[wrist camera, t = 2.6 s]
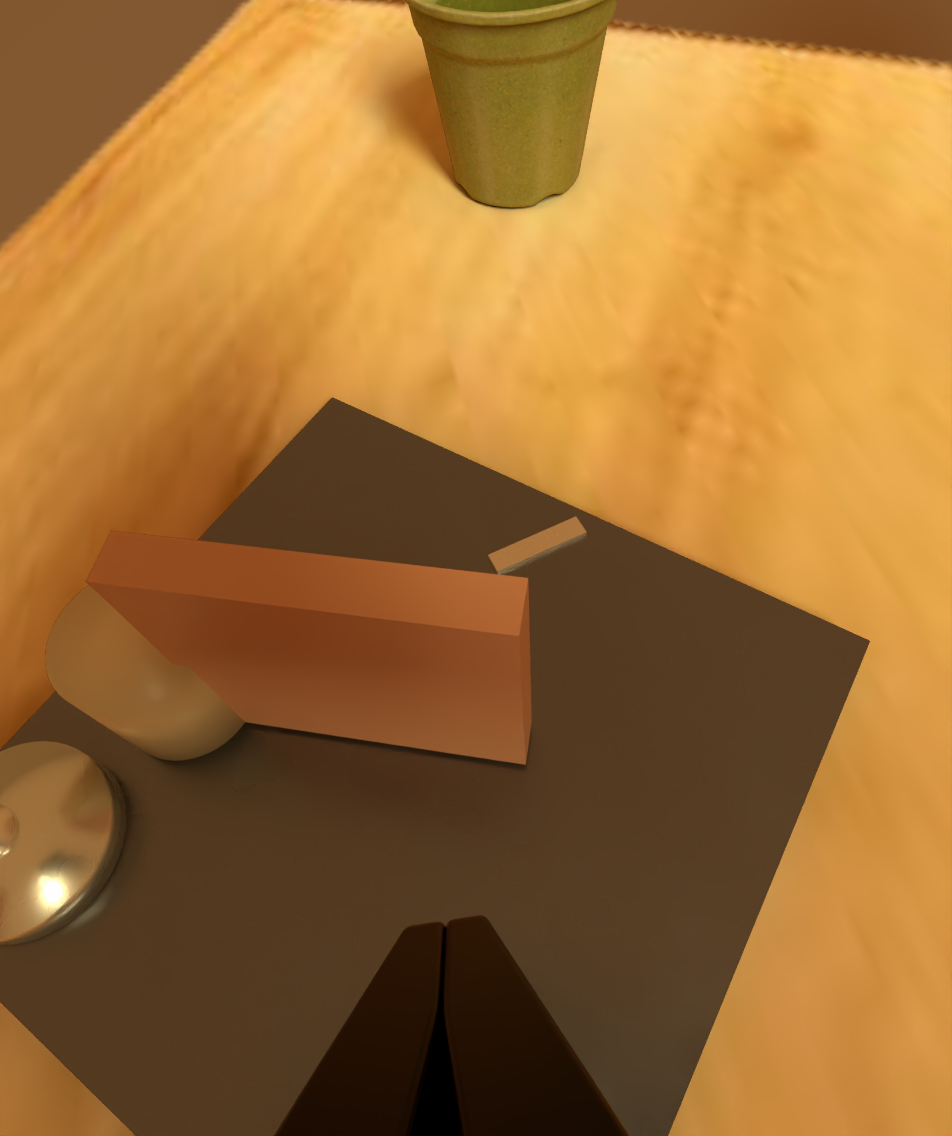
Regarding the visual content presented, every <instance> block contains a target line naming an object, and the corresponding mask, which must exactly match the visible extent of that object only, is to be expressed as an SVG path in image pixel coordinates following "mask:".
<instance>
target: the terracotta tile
mask: <svg viewBox="0 0 952 1136" xmlns="http://www.w3.org/2000/svg"><path fill="white" fill-rule="evenodd" d="M86 582H87V583H88V584H89V585H88V586H87V587H85V588H84V589H83V590H82V591H80V592H79V593H78V594H77V595H76V596H75V597H74V598H73V599H72V600H71V601H70V602H69V603H68V604H67V605H66V607H65V608H64V609H63V611H62V612H61V613H60V615H59V616H58V618H57V620H56V621H55V623H54V625H53V627H52V630H51V632H50V634H49V638H48V641H47V645H46V651H45V665H46V672H47V675H48V678H49V680H50V682H51V684H52V686H53V688H54V689H55V690H56V692H57V693H58V694H59V695H60V696H61V697H62V698H64V699H65V700H66V701H68V702H69V703H71V704H72V705H74V706H75V707H77V708H78V709H80V710H81V711H83V712H84V713H86V714H87V715H89V716H90V717H92V718H93V719H95V720H97V721H98V722H100V723H101V724H103V725H104V726H106V727H107V728H109V729H110V730H112V731H113V732H115V733H116V734H118V735H119V736H121V737H122V738H124V739H125V740H127V741H129V742H130V743H132V744H133V745H135V746H136V747H138V748H139V749H141V750H142V751H144V752H145V753H147V754H149V755H151V756H153V757H156V758H159V759H163V760H171V761H181V760H188V759H193V758H197V757H200V756H203V755H205V754H208V753H210V752H212V751H214V750H215V749H217V748H219V747H220V746H222V745H223V744H224V743H226V742H227V741H228V740H229V739H231V738H232V737H233V736H234V735H235V734H236V733H237V732H238V731H239V729H240V728H241V727H242V726H243V724H244V723H245V722H248V723H255V724H261V725H268V726H274V727H281V728H287V729H294V730H301V731H307V732H314V733H320V734H327V735H333V736H340V737H347V738H353V739H360V740H366V741H373V742H379V743H386V744H393V745H399V746H406V747H412V748H419V749H425V750H432V751H439V752H445V753H452V754H458V755H465V756H472V757H478V758H485V759H491V760H498V761H504V762H511V763H518V764H524V765H526V759H527V752H528V745H529V737H530V730H531V723H532V716H531V674H530V631H529V588H528V578H524V577H515V576H506V575H498V574H489V573H480V572H471V571H463V570H454V569H445V568H436V567H427V566H419V565H410V564H401V563H392V562H383V561H375V560H366V559H357V558H348V557H340V556H331V555H322V554H313V553H304V552H296V551H287V550H278V549H269V548H260V547H252V546H243V545H234V544H225V543H216V542H208V541H199V540H190V539H181V538H173V537H164V536H155V535H146V534H137V533H129V532H120V531H111V532H110V534H109V536H108V538H107V540H106V542H105V544H104V546H103V548H102V550H101V552H100V554H99V556H98V558H97V560H96V562H95V564H94V566H93V568H92V570H91V572H90V574H89V576H88V578H87V580H86Z"/></svg>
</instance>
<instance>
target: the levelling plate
mask: <svg viewBox="0 0 952 1136" xmlns="http://www.w3.org/2000/svg"><path fill="white" fill-rule="evenodd" d="M198 540H199V541H208V542H216V543H225V544H234V545H243V546H252V547H260V548H269V549H278V550H287V551H296V552H304V553H313V554H322V555H331V556H340V557H348V558H357V559H366V560H375V561H383V562H392V563H401V564H410V565H419V566H427V567H436V568H445V569H454V570H463V571H471V572H480V573H489V574H498V575H506V576H515V577H524V578H528V588H529V631H530V674H531V716H532V723H531V730H530V737H529V745H528V752H527V759H526V765H524V764H518V763H511V762H504V761H498V760H491V759H485V758H478V757H472V756H465V755H458V754H452V753H445V752H439V751H432V750H425V749H419V748H412V747H406V746H399V745H393V744H386V743H379V742H373V741H366V740H360V739H353V738H347V737H340V736H333V735H327V734H320V733H314V732H307V731H301V730H294V729H287V728H281V727H274V726H268V725H261V724H255V723H248V722H245V723H244V724H243V726H242V727H241V728H240V729H239V731H238V732H237V733H236V734H235V735H234V736H233V737H232V738H231V739H229V740H228V741H227V742H226V743H224V744H223V745H222V746H220V747H219V748H217V749H215V750H214V751H212V752H210V753H208V754H205V755H203V756H200V757H197V758H193V759H188V760H181V761H171V760H163V759H159V758H156V757H153V756H151V755H149V754H147V753H145V752H144V751H142V750H141V749H139V748H138V747H136V746H135V745H133V744H132V743H130V742H129V741H127V740H125V739H124V738H122V737H121V736H119V735H118V734H116V733H115V732H113V731H112V730H110V729H109V728H107V727H106V726H104V725H103V724H101V723H100V722H98V721H97V720H95V719H93V718H92V717H90V716H89V715H87V714H86V713H84V712H83V711H81V710H80V709H78V708H77V707H75V706H74V705H72V704H71V703H69V702H68V701H66V700H65V699H64V698H62V697H61V696H60V695H59V694H58V693H57V692H56V691H55V692H54V693H53V694H52V695H51V697H50V698H49V699H48V700H47V701H46V702H45V703H44V704H43V705H42V706H41V707H40V708H39V709H38V710H37V711H36V712H35V714H34V715H33V716H32V717H31V718H30V719H29V720H28V721H27V722H26V723H25V724H24V725H23V726H22V727H21V728H20V729H19V731H18V732H17V733H16V734H15V735H14V736H13V737H12V738H11V739H10V740H9V741H8V742H7V743H6V744H5V745H4V746H3V748H2V749H1V750H0V1002H1V1003H2V1004H3V1005H4V1006H5V1007H6V1008H7V1009H8V1010H9V1011H10V1012H11V1013H12V1014H13V1015H14V1016H15V1017H16V1018H17V1019H18V1020H19V1021H20V1022H21V1023H22V1024H23V1025H24V1026H25V1027H26V1028H27V1029H28V1030H29V1031H30V1032H31V1033H32V1034H33V1035H34V1036H35V1037H36V1038H37V1039H38V1040H39V1041H40V1042H41V1043H42V1044H43V1045H44V1046H45V1047H46V1048H48V1049H49V1050H50V1051H51V1052H52V1053H53V1054H54V1055H55V1056H56V1057H57V1058H58V1059H59V1060H60V1061H61V1062H62V1063H63V1064H64V1065H65V1066H66V1067H67V1068H68V1069H69V1070H70V1071H71V1072H72V1073H73V1074H74V1075H75V1076H76V1077H77V1078H78V1079H79V1080H80V1081H81V1082H82V1083H83V1084H84V1085H85V1086H86V1087H87V1088H88V1089H89V1090H90V1091H91V1092H92V1093H93V1094H94V1095H95V1096H96V1097H97V1098H98V1099H99V1100H100V1101H101V1102H102V1103H103V1104H104V1105H105V1106H106V1107H107V1108H108V1109H109V1110H110V1111H111V1112H112V1113H113V1114H114V1115H115V1116H116V1117H117V1118H118V1119H120V1120H121V1121H122V1122H123V1123H124V1124H125V1125H126V1126H127V1127H128V1128H129V1129H130V1130H131V1131H132V1132H133V1133H134V1134H135V1135H136V1136H274V1134H275V1132H276V1131H277V1129H278V1128H279V1126H280V1125H281V1123H282V1121H283V1120H284V1118H285V1117H286V1115H287V1113H288V1112H289V1110H290V1109H291V1107H292V1106H293V1104H294V1102H295V1101H296V1099H297V1098H298V1096H299V1094H300V1093H301V1091H302V1090H303V1088H304V1087H305V1085H306V1083H307V1082H308V1080H309V1079H310V1077H311V1075H312V1074H313V1072H314V1071H315V1069H316V1068H317V1066H318V1064H319V1063H320V1061H321V1060H322V1058H323V1056H324V1055H325V1053H326V1052H327V1050H328V1049H329V1047H330V1045H331V1044H332V1042H333V1041H334V1039H335V1037H336V1036H337V1034H338V1033H339V1031H340V1030H341V1028H342V1026H343V1025H344V1023H345V1022H346V1020H347V1018H348V1017H349V1015H350V1014H351V1012H352V1011H353V1009H354V1007H355V1006H356V1004H357V1003H358V1001H359V999H360V998H361V996H362V995H363V993H364V992H365V990H366V988H367V987H368V985H369V984H370V982H371V980H372V979H373V977H374V976H375V974H376V973H377V971H378V969H379V968H380V966H381V965H382V963H383V961H384V960H385V958H386V957H387V955H388V954H389V952H390V950H391V949H392V947H393V946H394V944H395V942H396V941H397V939H398V938H399V936H400V935H401V933H402V932H403V930H404V929H405V928H407V927H408V926H411V925H418V924H424V923H431V922H437V921H440V922H442V923H444V925H445V926H446V925H447V923H448V922H449V921H450V920H452V919H457V918H463V917H470V916H476V915H483V916H485V917H486V918H487V919H488V920H489V921H490V923H491V924H492V926H493V927H494V929H495V931H496V932H497V934H498V935H499V937H500V938H501V940H502V941H503V943H504V944H505V946H506V947H507V949H508V950H509V952H510V953H511V955H512V956H513V958H514V960H515V961H516V963H517V964H518V966H519V967H520V969H521V970H522V972H523V973H524V975H525V976H526V978H527V979H528V981H529V982H530V984H531V985H532V987H533V989H534V990H535V992H536V993H537V995H538V996H539V998H540V999H541V1001H542V1002H543V1004H544V1005H545V1007H546V1008H547V1010H548V1011H549V1013H550V1014H551V1016H552V1018H553V1019H554V1021H555V1022H556V1024H557V1025H558V1027H559V1028H560V1030H561V1031H562V1033H563V1034H564V1036H565V1037H566V1039H567V1040H568V1042H569V1043H570V1045H571V1047H572V1048H573V1050H574V1051H575V1053H576V1054H577V1056H578V1057H579V1059H580V1060H581V1062H582V1063H583V1065H584V1066H585V1068H586V1069H587V1071H588V1072H589V1074H590V1076H591V1077H592V1079H593V1080H594V1082H595V1083H596V1085H597V1086H598V1088H599V1089H600V1091H601V1092H602V1094H603V1095H604V1097H605V1098H606V1100H607V1101H608V1103H609V1105H610V1106H611V1108H612V1109H613V1111H614V1112H615V1114H616V1115H617V1117H618V1118H619V1120H620V1121H621V1123H622V1124H623V1126H624V1127H625V1129H626V1130H627V1132H628V1134H629V1135H630V1136H668V1134H669V1132H670V1129H671V1127H672V1124H673V1122H674V1120H675V1117H676V1115H677V1112H678V1110H679V1107H680V1105H681V1102H682V1100H683V1098H684V1095H685V1093H686V1090H687V1088H688V1085H689V1083H690V1080H691V1078H692V1076H693V1073H694V1071H695V1068H696V1066H697V1063H698V1061H699V1058H700V1056H701V1054H702V1051H703V1049H704V1046H705V1044H706V1041H707V1039H708V1036H709V1034H710V1031H711V1029H712V1027H713V1024H714V1022H715V1019H716V1017H717V1014H718V1012H719V1009H720V1007H721V1005H722V1002H723V1000H724V997H725V995H726V992H727V990H728V987H729V985H730V983H731V980H732V978H733V975H734V973H735V970H736V968H737V965H738V963H739V961H740V958H741V956H742V953H743V951H744V948H745V946H746V943H747V941H748V939H749V936H750V934H751V931H752V929H753V926H754V924H755V921H756V919H757V916H758V914H759V912H760V909H761V907H762V904H763V902H764V899H765V897H766V894H767V892H768V890H769V887H770V885H771V882H772V880H773V877H774V875H775V872H776V870H777V868H778V865H779V863H780V860H781V858H782V855H783V853H784V850H785V848H786V846H787V843H788V841H789V838H790V836H791V833H792V831H793V828H794V826H795V824H796V821H797V819H798V816H799V814H800V811H801V809H802V806H803V804H804V802H805V799H806V797H807V794H808V792H809V789H810V787H811V784H812V782H813V779H814V777H815V775H816V772H817V770H818V767H819V765H820V762H821V760H822V757H823V755H824V753H825V750H826V748H827V745H828V743H829V740H830V738H831V735H832V733H833V731H834V728H835V726H836V723H837V721H838V718H839V716H840V713H841V711H842V709H843V706H844V704H845V701H846V699H847V696H848V694H849V691H850V689H851V687H852V684H853V682H854V679H855V677H856V674H857V672H858V669H859V667H860V664H861V662H862V660H863V657H864V655H865V652H866V650H867V647H868V645H869V642H870V641H869V640H867V639H865V638H862V637H860V636H858V635H856V634H854V633H851V632H849V631H847V630H845V629H843V628H840V627H838V626H836V625H834V624H832V623H829V622H827V621H825V620H823V619H821V618H818V617H816V616H814V615H812V614H809V613H807V612H805V611H803V610H801V609H798V608H796V607H794V606H792V605H790V604H787V603H785V602H783V601H781V600H779V599H776V598H774V597H772V596H770V595H768V594H765V593H763V592H761V591H759V590H756V589H754V588H752V587H750V586H748V585H745V584H743V583H741V582H739V581H737V580H734V579H732V578H730V577H728V576H726V575H723V574H721V573H719V572H717V571H715V570H712V569H710V568H708V567H706V566H703V565H701V564H699V563H697V562H695V561H692V560H690V559H688V558H686V557H684V556H681V555H679V554H677V553H675V552H673V551H670V550H668V549H666V548H664V547H662V546H659V545H657V544H655V543H653V542H650V541H648V540H646V539H644V538H642V537H639V536H637V535H635V534H633V533H631V532H628V531H626V530H624V529H622V528H620V527H617V526H615V525H613V524H611V523H609V522H606V521H604V520H602V519H600V518H597V517H595V516H593V515H591V514H589V513H586V512H584V511H582V510H580V509H578V508H575V507H573V506H571V505H569V504H567V503H564V502H562V501H560V500H558V499H556V498H553V497H551V496H549V495H547V494H544V493H542V492H540V491H538V490H536V489H533V488H531V487H529V486H527V485H525V484H522V483H520V482H518V481H516V480H514V479H511V478H509V477H507V476H505V475H503V474H500V473H498V472H496V471H494V470H491V469H489V468H487V467H485V466H483V465H480V464H478V463H476V462H474V461H472V460H469V459H467V458H465V457H463V456H461V455H458V454H456V453H454V452H452V451H450V450H447V449H445V448H443V447H441V446H438V445H436V444H434V443H432V442H430V441H427V440H425V439H423V438H421V437H419V436H416V435H414V434H412V433H410V432H408V431H405V430H403V429H401V428H399V427H397V426H394V425H392V424H390V423H388V422H385V421H383V420H381V419H379V418H377V417H374V416H372V415H370V414H368V413H366V412H363V411H361V410H359V409H357V408H355V407H352V406H350V405H348V404H346V403H344V402H341V401H339V400H337V399H335V398H331V399H330V400H329V401H328V402H327V403H326V404H325V405H324V407H323V408H322V409H321V410H320V411H319V412H318V413H317V414H316V415H315V416H314V417H313V418H312V419H311V420H310V421H309V422H308V424H307V425H306V426H305V427H304V428H303V429H302V430H301V431H300V432H299V433H298V434H297V435H296V436H295V437H294V438H293V439H292V441H291V442H290V443H289V444H288V445H287V446H286V447H285V448H284V449H283V450H282V451H281V452H280V453H279V454H278V455H277V456H276V458H275V459H274V460H273V461H272V462H271V463H270V464H269V465H268V466H267V467H266V468H265V469H264V470H263V471H262V472H261V473H260V475H259V476H258V477H257V478H256V479H255V480H254V481H253V482H252V483H251V484H250V485H249V486H248V487H247V488H246V489H245V490H244V492H243V493H242V494H241V495H240V496H239V497H238V498H237V499H236V500H235V501H234V502H233V503H232V504H231V505H230V506H229V507H228V508H227V510H226V511H225V512H224V513H223V514H222V515H221V516H220V517H219V518H218V519H217V520H216V521H215V522H214V523H213V524H212V525H211V527H210V528H209V529H208V530H207V531H206V532H205V533H204V534H203V535H202V536H201V537H200V538H199V539H198Z"/></svg>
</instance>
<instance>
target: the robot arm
mask: <svg viewBox="0 0 952 1136" xmlns="http://www.w3.org/2000/svg"><path fill="white" fill-rule="evenodd" d="M274 1136H630V1135H629V1134H628V1132H627V1130H626V1129H625V1127H624V1126H623V1124H622V1123H621V1121H620V1120H619V1118H618V1117H617V1115H616V1114H615V1112H614V1111H613V1109H612V1108H611V1106H610V1105H609V1103H608V1101H607V1100H606V1098H605V1097H604V1095H603V1094H602V1092H601V1091H600V1089H599V1088H598V1086H597V1085H596V1083H595V1082H594V1080H593V1079H592V1077H591V1076H590V1074H589V1072H588V1071H587V1069H586V1068H585V1066H584V1065H583V1063H582V1062H581V1060H580V1059H579V1057H578V1056H577V1054H576V1053H575V1051H574V1050H573V1048H572V1047H571V1045H570V1043H569V1042H568V1040H567V1039H566V1037H565V1036H564V1034H563V1033H562V1031H561V1030H560V1028H559V1027H558V1025H557V1024H556V1022H555V1021H554V1019H553V1018H552V1016H551V1014H550V1013H549V1011H548V1010H547V1008H546V1007H545V1005H544V1004H543V1002H542V1001H541V999H540V998H539V996H538V995H537V993H536V992H535V990H534V989H533V987H532V985H531V984H530V982H529V981H528V979H527V978H526V976H525V975H524V973H523V972H522V970H521V969H520V967H519V966H518V964H517V963H516V961H515V960H514V958H513V956H512V955H511V953H510V952H509V950H508V949H507V947H506V946H505V944H504V943H503V941H502V940H501V938H500V937H499V935H498V934H497V932H496V931H495V929H494V927H493V926H492V924H491V923H490V921H489V920H488V919H487V918H486V917H485V916H483V915H476V916H470V917H463V918H457V919H452V920H450V921H449V922H448V923H447V925H446V926H445V925H444V923H442V922H440V921H437V922H431V923H424V924H418V925H411V926H408V927H407V928H405V929H404V930H403V932H402V933H401V935H400V936H399V938H398V939H397V941H396V942H395V944H394V946H393V947H392V949H391V950H390V952H389V954H388V955H387V957H386V958H385V960H384V961H383V963H382V965H381V966H380V968H379V969H378V971H377V973H376V974H375V976H374V977H373V979H372V980H371V982H370V984H369V985H368V987H367V988H366V990H365V992H364V993H363V995H362V996H361V998H360V999H359V1001H358V1003H357V1004H356V1006H355V1007H354V1009H353V1011H352V1012H351V1014H350V1015H349V1017H348V1018H347V1020H346V1022H345V1023H344V1025H343V1026H342V1028H341V1030H340V1031H339V1033H338V1034H337V1036H336V1037H335V1039H334V1041H333V1042H332V1044H331V1045H330V1047H329V1049H328V1050H327V1052H326V1053H325V1055H324V1056H323V1058H322V1060H321V1061H320V1063H319V1064H318V1066H317V1068H316V1069H315V1071H314V1072H313V1074H312V1075H311V1077H310V1079H309V1080H308V1082H307V1083H306V1085H305V1087H304V1088H303V1090H302V1091H301V1093H300V1094H299V1096H298V1098H297V1099H296V1101H295V1102H294V1104H293V1106H292V1107H291V1109H290V1110H289V1112H288V1113H287V1115H286V1117H285V1118H284V1120H283V1121H282V1123H281V1125H280V1126H279V1128H278V1129H277V1131H276V1132H275V1134H274Z"/></svg>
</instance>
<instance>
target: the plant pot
mask: <svg viewBox="0 0 952 1136" xmlns="http://www.w3.org/2000/svg"><path fill="white" fill-rule="evenodd" d="M404 1H405V2H406V3H407V4H408V5H409V8H410V12H411V16H412V20H413V23H414V26H415V28H416V30H417V32H418V34H419V35H420V37H421V38H422V41H423V45H424V49H425V53H426V58H427V62H428V66H429V70H430V74H431V78H432V82H433V86H434V90H435V95H436V99H437V103H438V107H439V111H440V115H441V120H442V124H443V128H444V132H445V136H446V141H447V145H448V149H449V154H450V158H451V162H452V166H453V170H454V175H455V179H456V182H457V183H460V184H461V185H462V186H463V188H464V189H465V190H466V191H467V192H468V194H469V195H470V196H471V197H472V198H473V199H475V200H477V201H479V202H482V203H485V204H489V205H493V206H500V207H526V206H532V205H535V204H537V203H538V202H539V201H540V200H541V199H543V198H545V197H547V196H549V195H551V194H563V193H564V192H566V191H567V190H568V189H569V188H570V187H571V186H572V185H573V184H574V182H575V181H576V179H577V178H578V175H579V171H580V166H581V160H582V156H583V151H584V145H585V140H586V134H587V129H588V123H589V118H590V112H591V107H592V102H593V97H594V92H595V86H596V81H597V76H598V71H599V66H600V61H601V55H602V50H603V45H604V40H605V35H606V30H607V25H608V24H609V22H610V21H611V19H612V17H613V15H614V12H615V8H616V3H617V0H404Z"/></svg>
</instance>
